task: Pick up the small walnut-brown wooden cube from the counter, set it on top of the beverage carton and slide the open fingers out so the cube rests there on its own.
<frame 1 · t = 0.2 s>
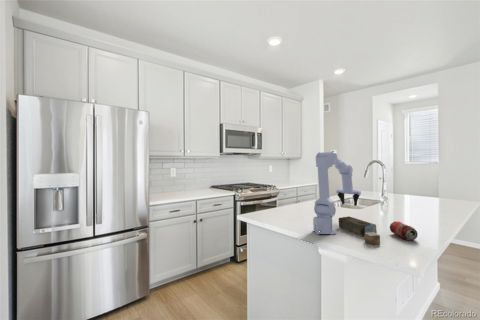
hand: (349, 204, 148), 10 cm above the countertop, tool pointing down, fingers open, 7 cm apart
walnut block: (372, 243, 109), on the countertop
beverage can: (404, 238, 115), on the countertop
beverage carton: (356, 232, 127), on the countertop
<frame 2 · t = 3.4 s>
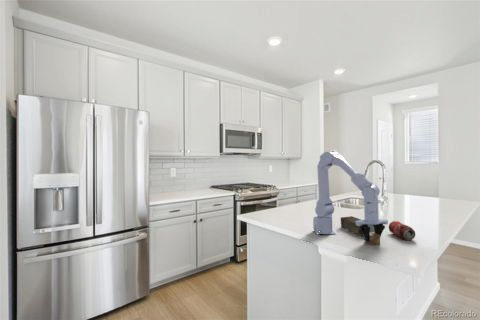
hand: (372, 240, 109), 1 cm above the countertop, tool pointing down, fingers closed on walnut block, 4 cm apart
walnut block: (372, 243, 109), on the countertop, touching gripper
when the fingers open (9 cm above the countertop, at t = 7.2 s): walnut block drops 2 cm, resting on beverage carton.
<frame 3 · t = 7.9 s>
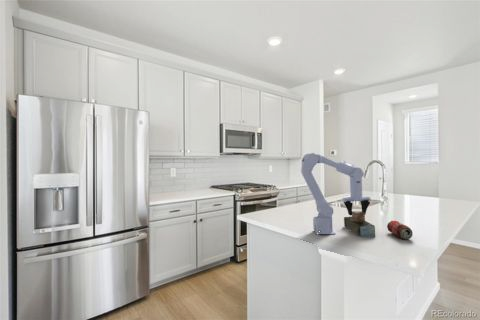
hand: (357, 214, 126), 9 cm above the countertop, tool pointing down, fingers open, 7 cm apart
walnut block: (358, 220, 126), point 6 cm above the countertop, touching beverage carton
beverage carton: (358, 232, 127), on the countertop, touching walnut block
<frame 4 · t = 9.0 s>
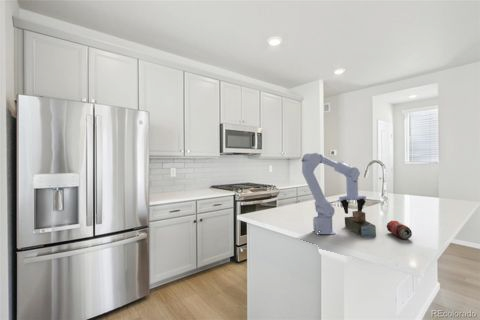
hand: (353, 213, 130), 9 cm above the countertop, tool pointing down, fingers open, 7 cm apart
walnut block: (359, 220, 126), point 6 cm above the countertop
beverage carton: (359, 232, 127), on the countertop
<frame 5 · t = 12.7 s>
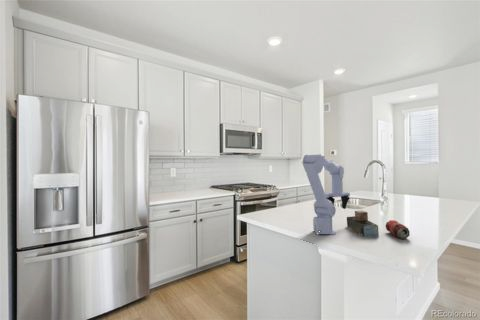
hand: (338, 209, 137), 10 cm above the countertop, tool pointing down, fingers open, 7 cm apart
walnut block: (361, 219, 127), point 6 cm above the countertop, touching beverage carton
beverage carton: (361, 232, 127), on the countertop, touching walnut block
at the end: walnut block inside the target area on the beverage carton (0.4 cm from its centre), point 6.8 cm above the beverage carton's base; walnut block tilted 0°; the gripper is holding nothing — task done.
